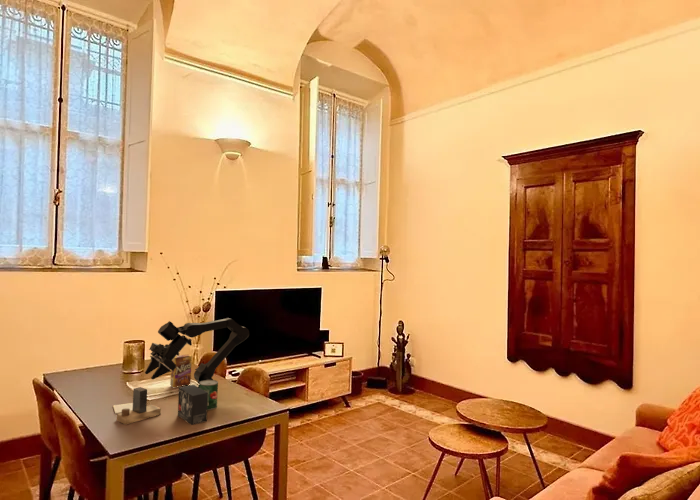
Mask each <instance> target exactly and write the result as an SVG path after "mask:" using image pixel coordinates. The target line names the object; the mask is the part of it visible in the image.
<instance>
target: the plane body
mask: <svg viewBox="0 0 700 500" xmlns="http://www.w3.org/2000/svg"><path fill="white" fill-rule="evenodd" d="M161 411H162V408H161V407H158V406H156V405H153V404H149V405H147V407H146V412H143V413H140V414H139V413H137V412H134V411H133V410H131V411H130V409H122V413H119V414H116V421H117V422H119V423H121V424H123V425H129V424H132V423H135V422H139V421H142V420H146V419H149V417H150V418H153V417H156V415H157V416H161V413H162V412H161Z"/></svg>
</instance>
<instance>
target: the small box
mask: <svg viewBox="0 0 700 500" xmlns="http://www.w3.org/2000/svg"><path fill="white" fill-rule="evenodd" d="M207 398H208V392H206V391H204V390H202V389H201V388H199V387H198V386H197V385H196V384H190V385H189V386H183V387H178V399H177V401H178V402H177V404H178V405H177V416H178V417H179V418H181V419H182V420H183V421H185V422H186V423H187V424H190V425H191V426H194V425H197V424H202V423H206V422H207V421H208V410H207Z"/></svg>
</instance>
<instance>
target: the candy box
mask: <svg viewBox="0 0 700 500" xmlns="http://www.w3.org/2000/svg"><path fill="white" fill-rule="evenodd" d="M172 361H173V362H174V363H175V364H176V368H175V369H174V370H173V371H172V370H171V369H170V370H171V372H170V384H169V385H171V386H172V387H177V386H182V385H189V384H190V385H191V377H192V364H193V363H192V361H193V356H192V355H191V354H190V353H189V354H181V355H180V354H179V355H176V356H175V357H174V359H173V360H172ZM171 386H170V387H171ZM172 387H171V388H172ZM177 388H178V387H177Z"/></svg>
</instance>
